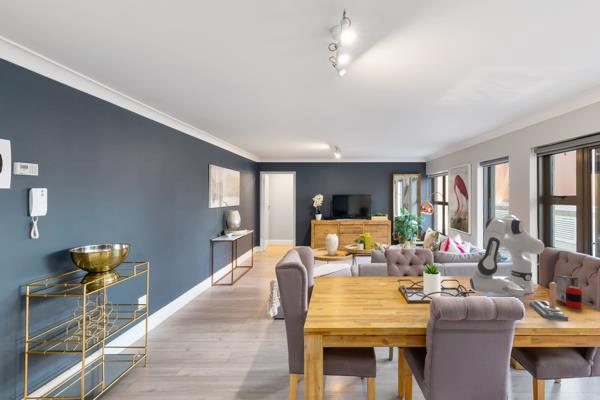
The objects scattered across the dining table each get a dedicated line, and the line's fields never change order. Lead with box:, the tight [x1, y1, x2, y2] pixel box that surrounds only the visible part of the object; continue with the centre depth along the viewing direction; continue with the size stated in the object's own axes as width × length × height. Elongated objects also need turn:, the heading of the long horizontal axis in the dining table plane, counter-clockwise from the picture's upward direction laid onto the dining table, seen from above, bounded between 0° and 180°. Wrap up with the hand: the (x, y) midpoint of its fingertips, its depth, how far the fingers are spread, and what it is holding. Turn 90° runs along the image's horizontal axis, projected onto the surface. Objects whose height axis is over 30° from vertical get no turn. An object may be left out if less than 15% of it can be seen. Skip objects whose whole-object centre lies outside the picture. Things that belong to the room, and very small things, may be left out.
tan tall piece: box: [544, 281, 562, 312], centre depth 179 cm, size 5×6×17 cm
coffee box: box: [556, 275, 579, 303], centre depth 206 cm, size 9×6×16 cm
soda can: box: [564, 286, 583, 309], centre depth 196 cm, size 8×8×12 cm
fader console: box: [529, 299, 569, 321], centre depth 185 cm, size 22×11×4 cm, turn 161°
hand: (527, 289), depth 183 cm, fingers open, 8 cm apart
